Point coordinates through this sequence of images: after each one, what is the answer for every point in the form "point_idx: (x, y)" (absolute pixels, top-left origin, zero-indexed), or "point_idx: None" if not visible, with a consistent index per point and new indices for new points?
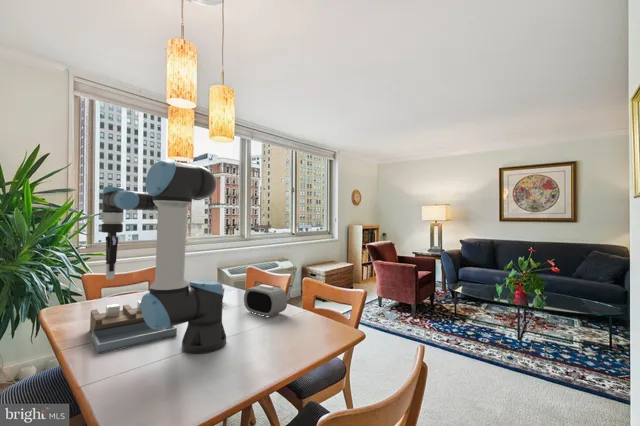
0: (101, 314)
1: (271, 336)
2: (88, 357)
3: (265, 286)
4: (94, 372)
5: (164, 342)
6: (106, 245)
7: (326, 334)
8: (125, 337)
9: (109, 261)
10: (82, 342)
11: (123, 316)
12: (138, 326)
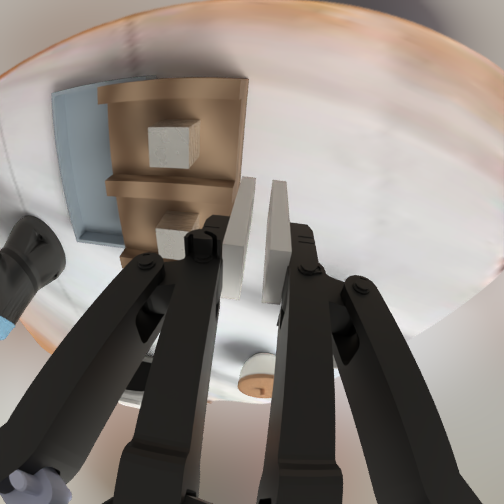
0: (224, 110)
1: (51, 311)
2: (59, 76)
3: (125, 402)
4: (12, 94)
5: (64, 204)
6: (278, 493)
7: (48, 339)
8: (109, 146)
9: (130, 263)
10: (149, 55)
11: None
12: None
